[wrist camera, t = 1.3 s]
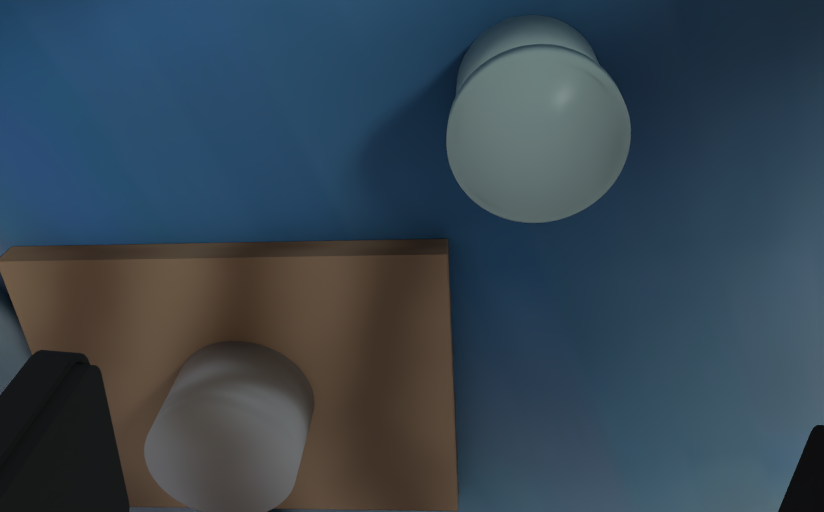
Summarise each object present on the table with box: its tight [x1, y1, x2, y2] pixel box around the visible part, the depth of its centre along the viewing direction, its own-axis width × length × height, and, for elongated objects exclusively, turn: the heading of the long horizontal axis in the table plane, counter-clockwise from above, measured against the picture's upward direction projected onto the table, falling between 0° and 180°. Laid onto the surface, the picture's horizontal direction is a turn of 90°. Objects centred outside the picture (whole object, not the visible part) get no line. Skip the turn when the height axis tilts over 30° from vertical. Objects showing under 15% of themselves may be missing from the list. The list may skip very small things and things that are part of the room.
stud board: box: [0, 239, 459, 512], centre depth 33 cm, size 18×14×5 cm
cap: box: [446, 15, 631, 223], centre depth 25 cm, size 5×5×5 cm
